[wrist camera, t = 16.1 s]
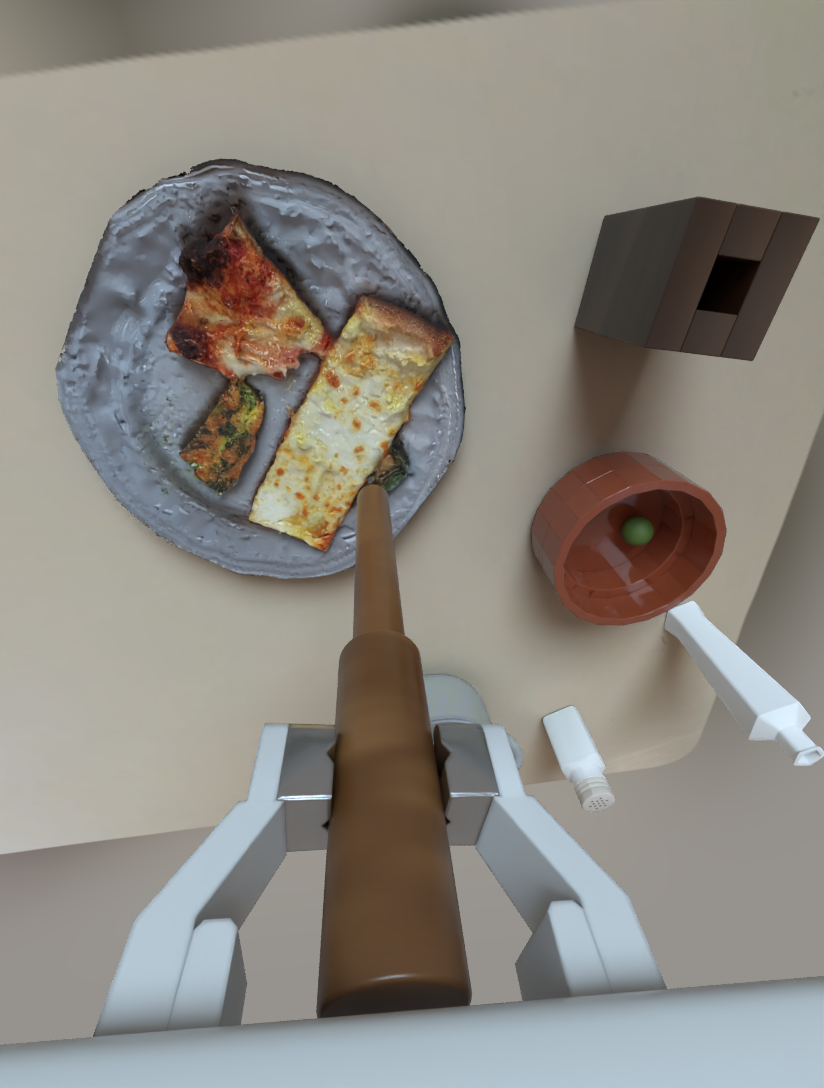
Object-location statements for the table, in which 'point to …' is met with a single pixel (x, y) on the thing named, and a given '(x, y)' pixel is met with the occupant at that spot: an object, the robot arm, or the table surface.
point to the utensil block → (693, 275)
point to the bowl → (606, 559)
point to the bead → (637, 531)
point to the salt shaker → (579, 758)
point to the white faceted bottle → (744, 685)
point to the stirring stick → (386, 813)
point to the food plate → (260, 368)
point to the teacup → (458, 706)
